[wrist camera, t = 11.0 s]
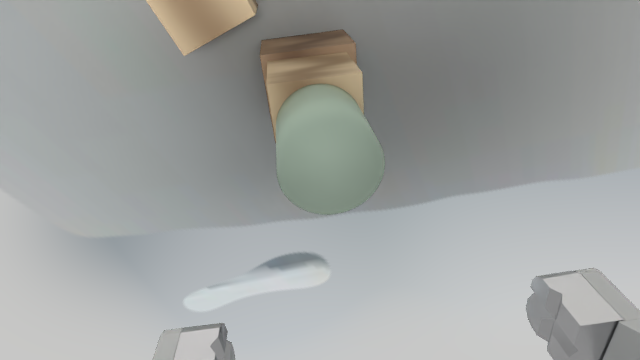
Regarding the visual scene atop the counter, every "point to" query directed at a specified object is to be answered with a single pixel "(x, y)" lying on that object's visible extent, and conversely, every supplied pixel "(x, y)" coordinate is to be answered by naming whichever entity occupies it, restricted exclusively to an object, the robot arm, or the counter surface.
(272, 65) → the tower block top
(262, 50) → the tower block base
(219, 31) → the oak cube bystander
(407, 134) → the counter surface
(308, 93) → the sage green cylinder
